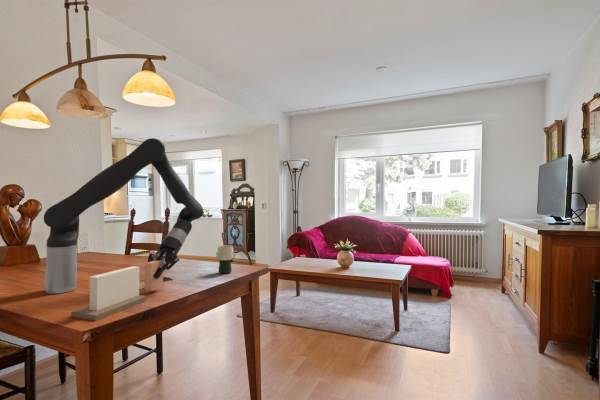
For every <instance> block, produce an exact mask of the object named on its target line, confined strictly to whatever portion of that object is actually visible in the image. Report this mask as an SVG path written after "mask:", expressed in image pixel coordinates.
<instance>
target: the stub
mask: <svg viewBox="0 0 600 400" xmlns="http://www.w3.org/2000/svg"><path fill="white" fill-rule="evenodd" d="M160 264H161V260H156V261H151V262H148V261H147V262H144V280H145V288H144V290H146V291H154V290H156V289H159V288H161V287H164V282H163V278H164V271H163V272H162V274H161V276H160V277H159V278H158V279H155V278H154V277H153V275H154V274H155V272H156V271H157V269H158V268H159V266H160Z"/></svg>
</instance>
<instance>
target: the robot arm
mask: <svg viewBox="0 0 600 400" xmlns="http://www.w3.org/2000/svg"><path fill="white" fill-rule="evenodd" d="M149 165H152V166H153V167H154V169H155V170H156V171H157V173H158V175H159V176H160V177H161V179H162V181H163V183H164V185H165V187H166V189H167V190H168V192H169V194H170V195H171V197H172V198H173V200H174V202H175V203H176V204H178V205H181V204H182V205H183V206H184V207H183V208H182V209H181V210H180V212H179V213H178V216H177V219H176V221H175V223H174V225H173V226H172V228H171V229H170V230H169V232H168V233H167V234H166V236H165V237H164V239H163V240H162V242H161V243H160V246H159V249H158V250H157V251H156V253H153V252H150V253H149V254H148V258H147V262H151V261H156V260H161V264H160V266H159V268H158V269H157V271H156V272H155V274H154V275H153V277H154V278H155V279H158V278H159V277H160V276H161V274H162V272H163V273H164V272H165V271H166V270H167V271H170V270H171V268H172V267H174V266H175V264H177V263H178V262H179V261H180V258H179V256H178V253H179V252H180V250H181V249H182V247H183V245H184V243H185V242H186V239H187V237H188V236H189V234H190V232H191V230H192V229H193V226H192V225H193V224H192V222H193V221H195V220H198V219H200V218H202V217H203V215H204V209H203V206H202V204H201V203H200V202H199V201H198V200H197V199H196V198H195V197H194V196H193V195H192V194H190V193H191V192H190V191H189V190H188V188H187V187H186V185H185V184H184V182H183V181H182V179H181V177H180V176H179V175H178V173H177V172H176V171H175V170H174V169H175V168H173V166H172V165H171V163H170V161H169V158H168V156H167V154H166V147H165V144H164V143H163V142H162V141H161V140H160V139H158V138H153V137H151V138H146V139H145V140H143V142H142V143H140V145H138V146H137V147H136V148H135V149H134V150H132V152H130V153H129V154H128V155H126V156H124V158H122V159H119V160H118V161H116V162H114V163H113V164H111V165H110V166H108V167H106V168H104V170H102V171H101V172H99V173H98V174H96V175H95V176H94V177H92V178H91V179H90V180H89V181H87V182H85V184H84V185H82V186H81V187H80V188H79V189H78V190H76V191H75V192H73V193H72V194H70V195H69V196H68V197H66V198H64V199H62V200H61V201H58V202H57V203H54V204H53V205H52V206H49V207H48V208H47V209H46V211H45V212H44V214H43V221H44V224H45V225H46V226H47V227H49V228H50V230H49V231H50V232H49V235H48V238H47V239H46V266H44V292H45V293H46V294H50V295H51V294H63V293H69V292H71V291H72V292H73V291H74V290H77V270H78V268H77V267H78V266H77V263H78V255H77V254H78V253H77V252H78V251H77V250H78V238H79V233H80V215H81V214H83V213H84V212H85V211H86V210H87V209H89V208H91V207H92V206H94V205H96V204H98V203H100V202H102V201H103V200H105V199H107V198H109V197H110V196H112V195H113V194H115V193H116V192H118V191H119V190H121V189H122V188H124V186H125V185H127V184H128V183H129V182H130V181H131V180H132V179H134V177H135V176H136V175H137V174H138V173H139V172H140V171H142V170H143V169H144V168H146V167H147V166H149Z"/></svg>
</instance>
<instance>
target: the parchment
mask: <svg viewBox="0 0 600 400" xmlns="http://www.w3.org/2000/svg"><path fill="white" fill-rule="evenodd" d="M173 280H174V279H173V278H170V277H166V276H165V277H164V276H163V283H165V282H168V281H173ZM142 289H145V279H144V280H143V279H142V280H139V290H142Z"/></svg>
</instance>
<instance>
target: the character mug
mask: <svg viewBox="0 0 600 400" xmlns="http://www.w3.org/2000/svg"><path fill="white" fill-rule="evenodd" d="M234 250H235V249H234V248H233V245H231V244H230V245H227V244H226V245H225V244H223V245H219V246H217V251H216V254H215V255H216V256H215V257H216V259H218V260H219V265H218V273H222V274H224V273H226V274H228V273H231V272H232V262H231V260H233V257H234V253H235V251H234Z"/></svg>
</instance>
